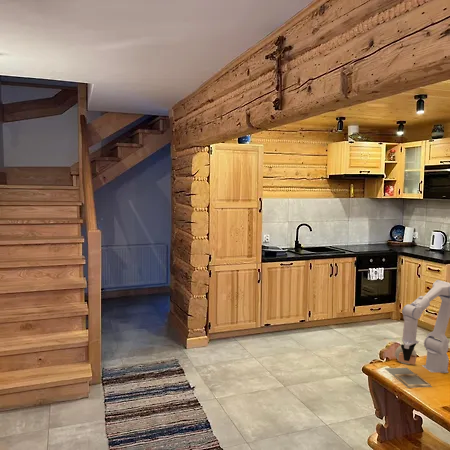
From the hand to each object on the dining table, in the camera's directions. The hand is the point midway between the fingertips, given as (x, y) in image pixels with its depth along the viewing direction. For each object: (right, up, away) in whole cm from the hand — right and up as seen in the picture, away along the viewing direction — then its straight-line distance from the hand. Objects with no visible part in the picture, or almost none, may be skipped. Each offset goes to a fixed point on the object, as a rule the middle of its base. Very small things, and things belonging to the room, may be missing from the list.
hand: (407, 358), depth 203 cm
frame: (0, -9, -4) cm, 10 cm away
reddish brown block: (0, -1, 0) cm, 1 cm away
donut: (+5, -8, +16) cm, 19 cm away
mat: (0, -9, 0) cm, 9 cm away
